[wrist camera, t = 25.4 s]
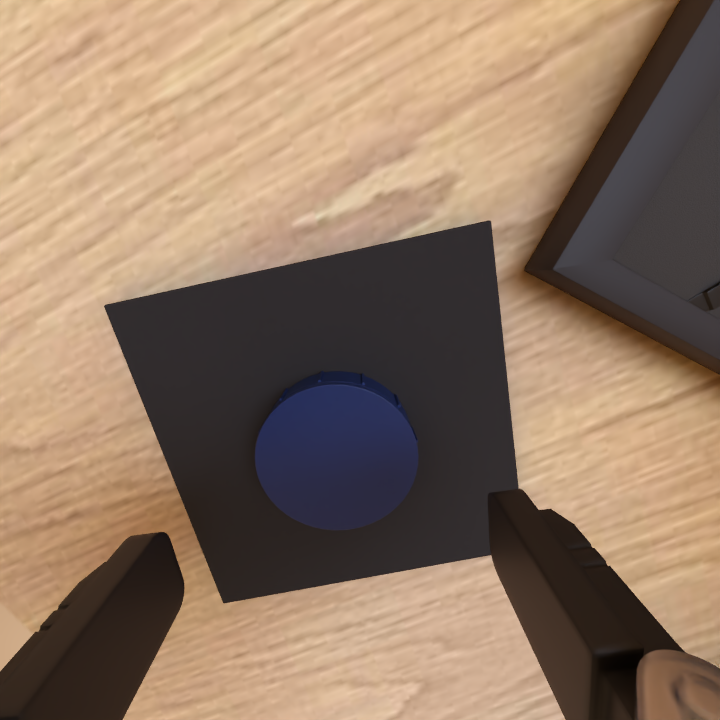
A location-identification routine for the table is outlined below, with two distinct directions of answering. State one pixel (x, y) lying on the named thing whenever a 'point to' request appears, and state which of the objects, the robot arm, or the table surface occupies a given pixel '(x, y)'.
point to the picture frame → (652, 199)
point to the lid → (337, 451)
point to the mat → (330, 353)
